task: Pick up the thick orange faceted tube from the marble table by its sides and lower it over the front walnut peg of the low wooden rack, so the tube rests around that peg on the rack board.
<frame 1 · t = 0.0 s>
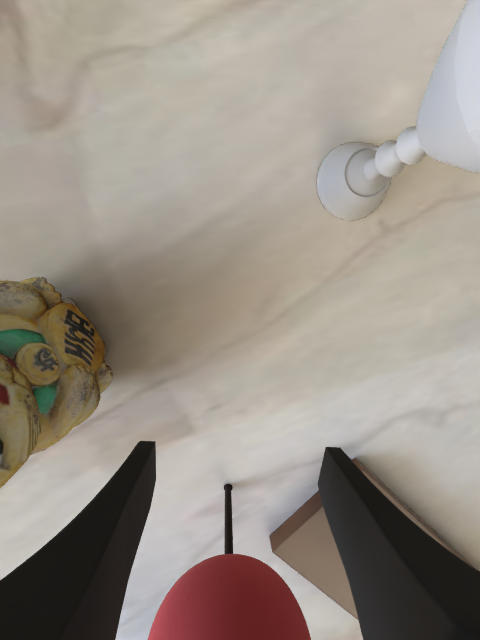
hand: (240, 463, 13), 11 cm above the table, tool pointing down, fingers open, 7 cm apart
rack: (386, 562, 27), on the table
chalice: (351, 182, 21), on the table
decorative figurine: (57, 347, 22), on the table
lollipop: (226, 485, 25), on the table
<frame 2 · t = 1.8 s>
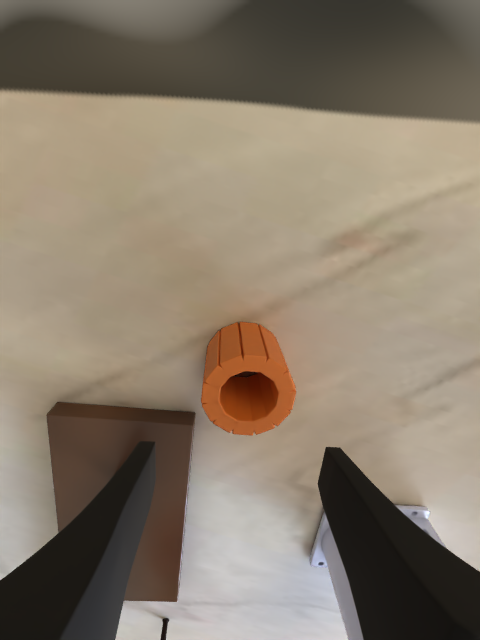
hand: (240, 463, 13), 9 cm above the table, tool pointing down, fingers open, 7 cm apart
rack: (127, 505, 26), on the table
lollipop: (166, 618, 32), on the table
orange faceted tube: (243, 356, 22), on the table
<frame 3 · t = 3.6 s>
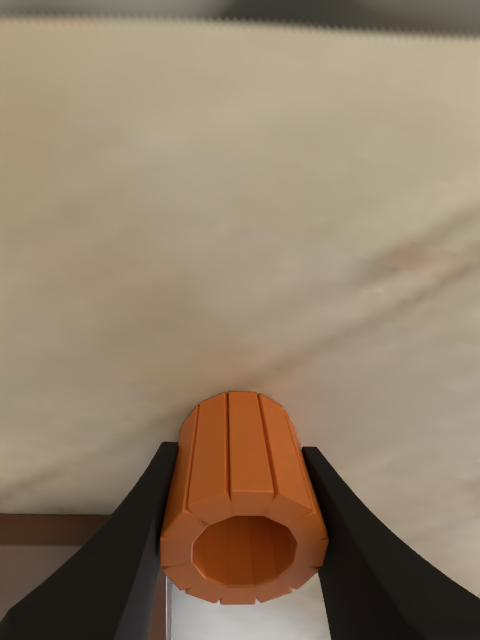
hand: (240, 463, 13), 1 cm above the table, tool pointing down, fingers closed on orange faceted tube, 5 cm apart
rack: (88, 632, 19), on the table
orange faceted tube: (237, 439, 14), on the table, touching gripper
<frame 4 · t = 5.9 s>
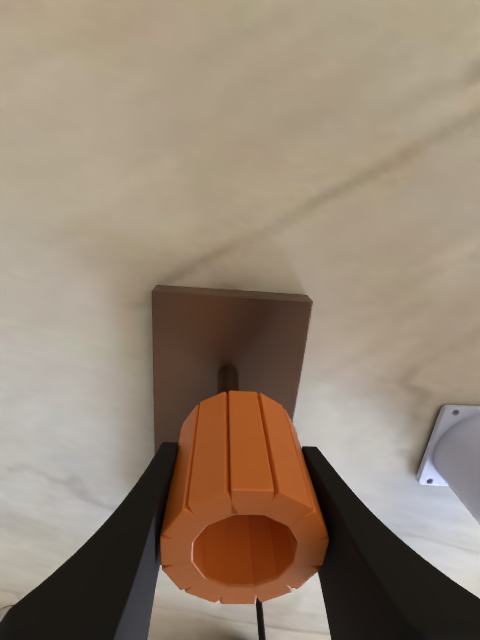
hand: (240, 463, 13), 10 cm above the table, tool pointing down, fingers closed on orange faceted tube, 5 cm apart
rack: (223, 415, 24), on the table
lollipop: (254, 553, 30), on the table
orange faceted tube: (238, 438, 14), point 8 cm above the table, touching gripper
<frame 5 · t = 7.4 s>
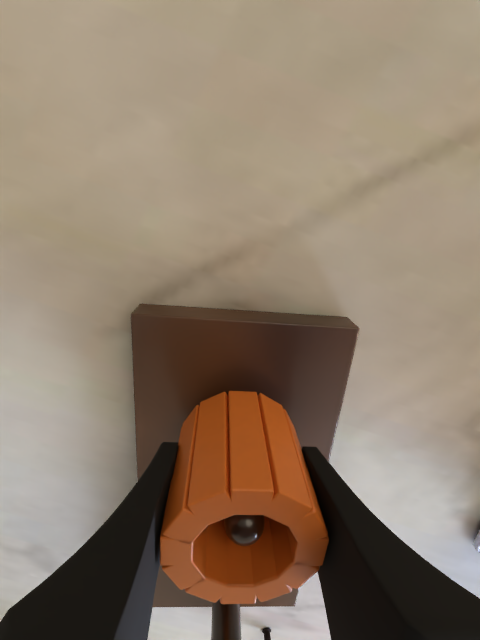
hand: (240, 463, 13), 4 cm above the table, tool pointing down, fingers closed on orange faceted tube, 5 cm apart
rack: (230, 471, 18), on the table
lollipop: (266, 627, 24), on the table
orange faceted tube: (237, 438, 14), point 2 cm above the table, touching gripper
when the fingers open (3 cm above the table, at t = 8.2 s): orange faceted tube stays where it is, resting on rack.
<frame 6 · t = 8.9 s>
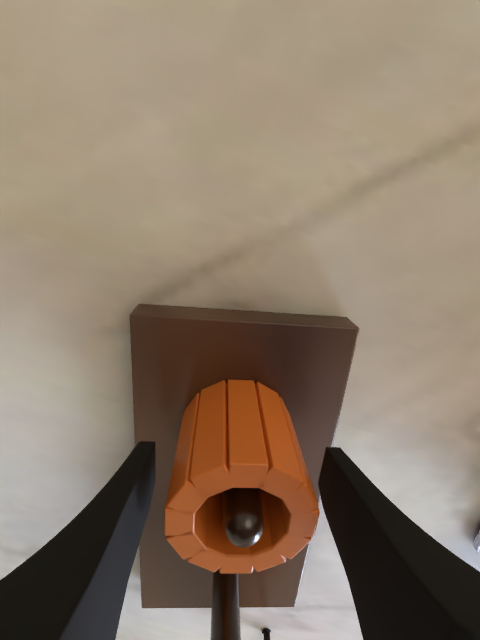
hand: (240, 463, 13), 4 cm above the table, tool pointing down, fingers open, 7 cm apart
rack: (230, 471, 18), on the table
lollipop: (266, 628, 24), on the table
orange faceted tube: (236, 425, 15), point 1 cm above the table, touching rack
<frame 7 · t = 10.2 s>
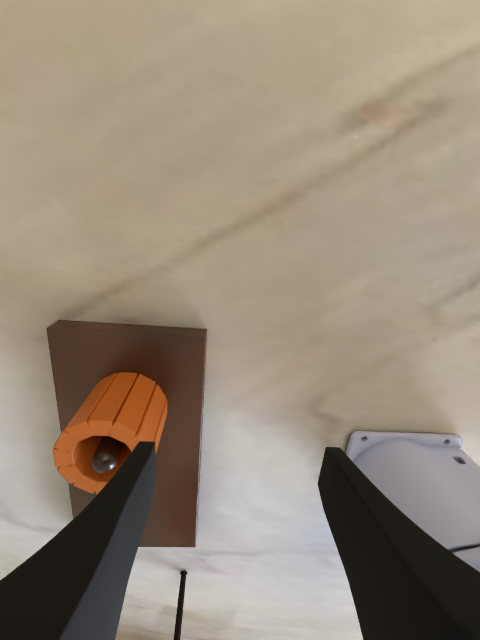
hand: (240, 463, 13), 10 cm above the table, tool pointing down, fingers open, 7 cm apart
rack: (138, 441, 24), on the table
lollipop: (184, 571, 30), on the table
orange faceted tube: (129, 404, 21), point 1 cm above the table, touching rack
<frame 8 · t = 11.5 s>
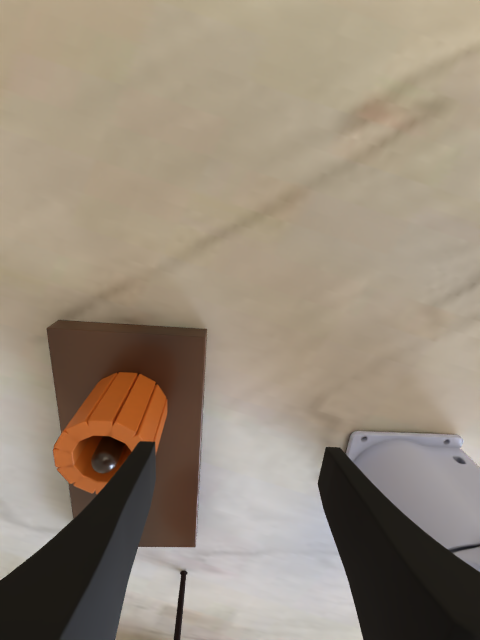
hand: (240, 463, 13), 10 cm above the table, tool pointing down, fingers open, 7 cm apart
rack: (138, 441, 24), on the table
lollipop: (184, 571, 30), on the table
orange faceted tube: (129, 404, 21), point 1 cm above the table, touching rack
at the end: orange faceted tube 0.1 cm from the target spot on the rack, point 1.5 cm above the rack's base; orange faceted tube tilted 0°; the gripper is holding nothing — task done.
